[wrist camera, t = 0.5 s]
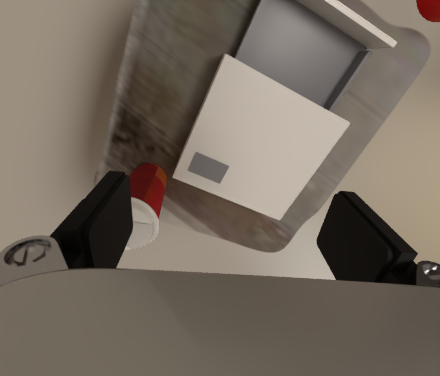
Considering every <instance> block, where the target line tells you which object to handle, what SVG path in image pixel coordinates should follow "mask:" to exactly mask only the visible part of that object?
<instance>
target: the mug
mask: <svg viewBox="0 0 440 376" xmlns="http://www.w3.org/2000/svg"><path fill="white" fill-rule="evenodd" d="M416 2H417V7H418V10H419V13H420V14H421V15H422V17H424V18H425V19H426V20H428V21H431V22H440V0H416Z"/></svg>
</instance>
